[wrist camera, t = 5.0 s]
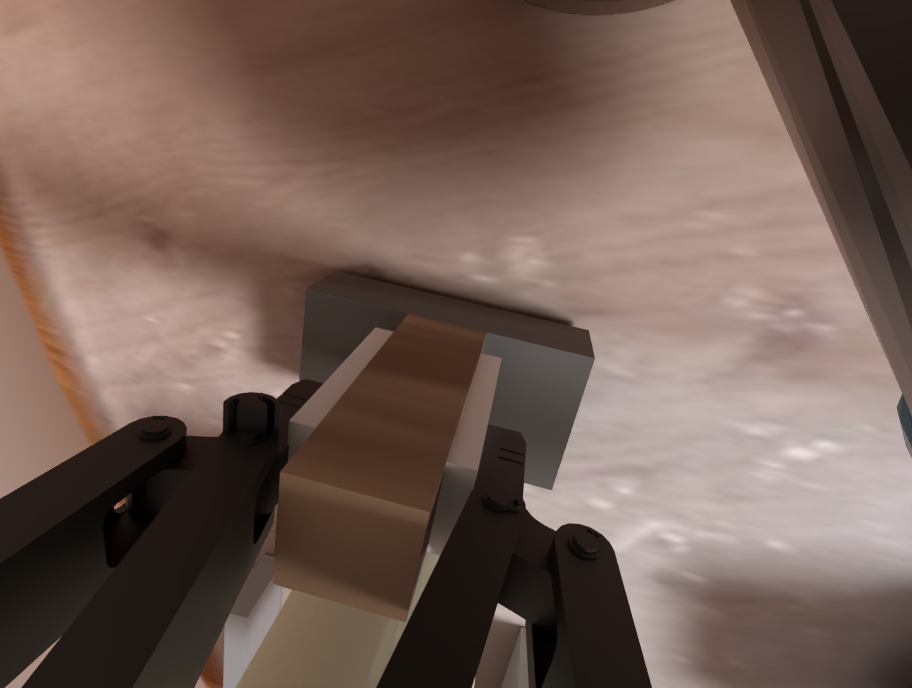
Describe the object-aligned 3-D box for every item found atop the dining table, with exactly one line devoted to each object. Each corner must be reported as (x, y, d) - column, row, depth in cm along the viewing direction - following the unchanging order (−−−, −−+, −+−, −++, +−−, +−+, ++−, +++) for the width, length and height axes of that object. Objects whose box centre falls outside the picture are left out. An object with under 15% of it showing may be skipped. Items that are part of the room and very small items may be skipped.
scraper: (336, 271, 22) (91, 420, 10) (588, 330, 21) (641, 570, 9) (324, 391, 25) (112, 627, 13) (551, 449, 24) (555, 762, 12)
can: (355, 449, 26) (217, 672, 15) (522, 521, 26) (505, 799, 15) (310, 571, 30) (171, 823, 19) (456, 635, 30) (403, 925, 19)
